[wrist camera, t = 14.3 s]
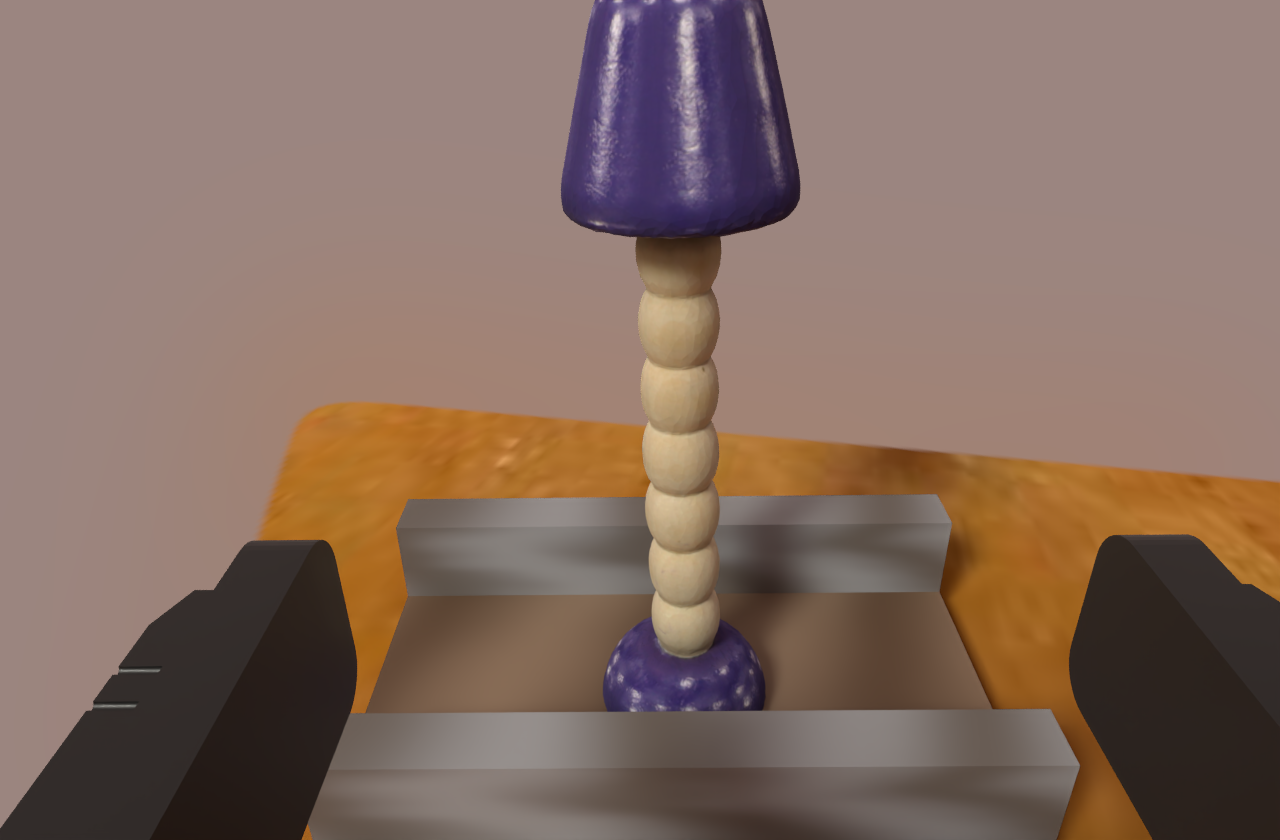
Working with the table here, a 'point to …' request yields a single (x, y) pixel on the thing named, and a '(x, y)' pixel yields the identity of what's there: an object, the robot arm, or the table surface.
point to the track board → (686, 740)
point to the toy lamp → (680, 294)
